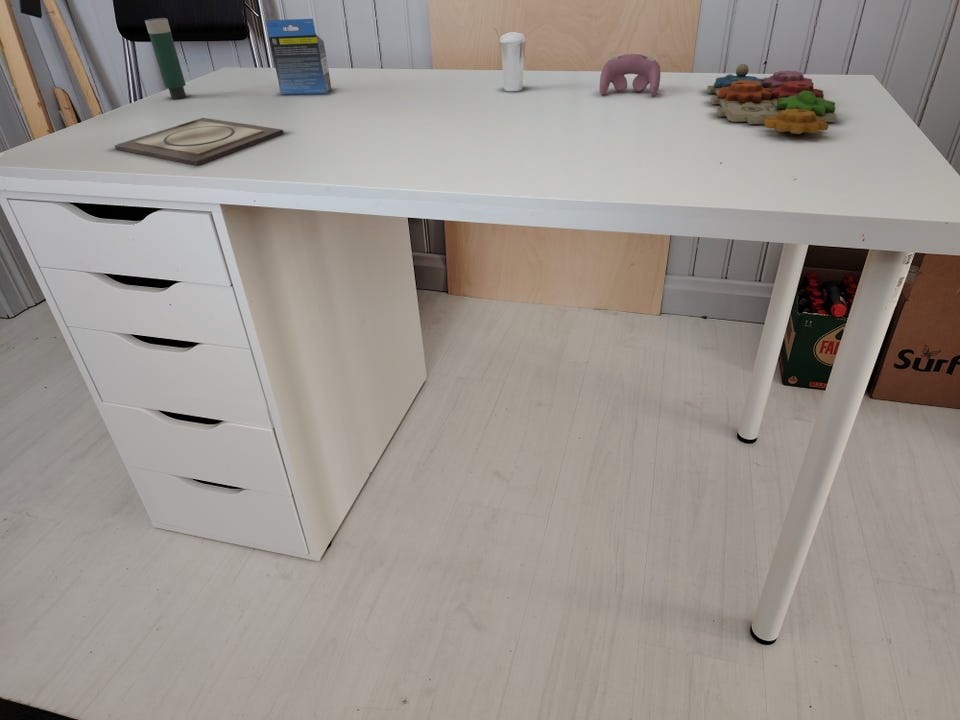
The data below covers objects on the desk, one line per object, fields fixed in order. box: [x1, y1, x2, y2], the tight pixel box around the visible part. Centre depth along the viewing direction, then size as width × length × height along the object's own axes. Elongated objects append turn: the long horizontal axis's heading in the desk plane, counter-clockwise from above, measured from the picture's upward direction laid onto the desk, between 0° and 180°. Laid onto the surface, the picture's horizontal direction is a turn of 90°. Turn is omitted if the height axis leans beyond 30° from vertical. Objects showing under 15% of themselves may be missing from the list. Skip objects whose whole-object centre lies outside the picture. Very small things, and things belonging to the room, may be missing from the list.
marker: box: [144, 17, 187, 100], centre depth 117 cm, size 4×4×13 cm
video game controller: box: [599, 53, 661, 97], centre depth 108 cm, size 10×5×7 cm, turn 74°
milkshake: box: [494, 27, 527, 92], centre depth 112 cm, size 4×5×10 cm
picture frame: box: [114, 117, 284, 166], centre depth 96 cm, size 18×16×1 cm
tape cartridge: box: [264, 18, 332, 96], centre depth 116 cm, size 9×4×12 cm, turn 84°
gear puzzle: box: [706, 63, 837, 135], centre depth 95 cm, size 31×16×4 cm, turn 169°
